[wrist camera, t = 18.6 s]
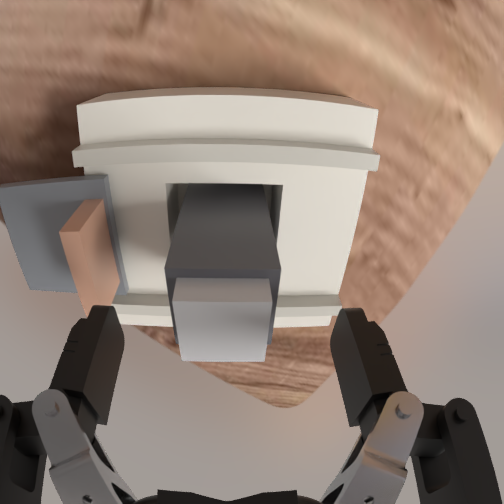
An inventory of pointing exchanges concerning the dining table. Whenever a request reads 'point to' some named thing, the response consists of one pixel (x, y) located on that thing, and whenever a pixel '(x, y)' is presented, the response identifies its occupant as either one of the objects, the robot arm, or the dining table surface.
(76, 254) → the panel
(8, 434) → the robot arm
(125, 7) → the dining table surface
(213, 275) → the plug
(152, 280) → the socket
